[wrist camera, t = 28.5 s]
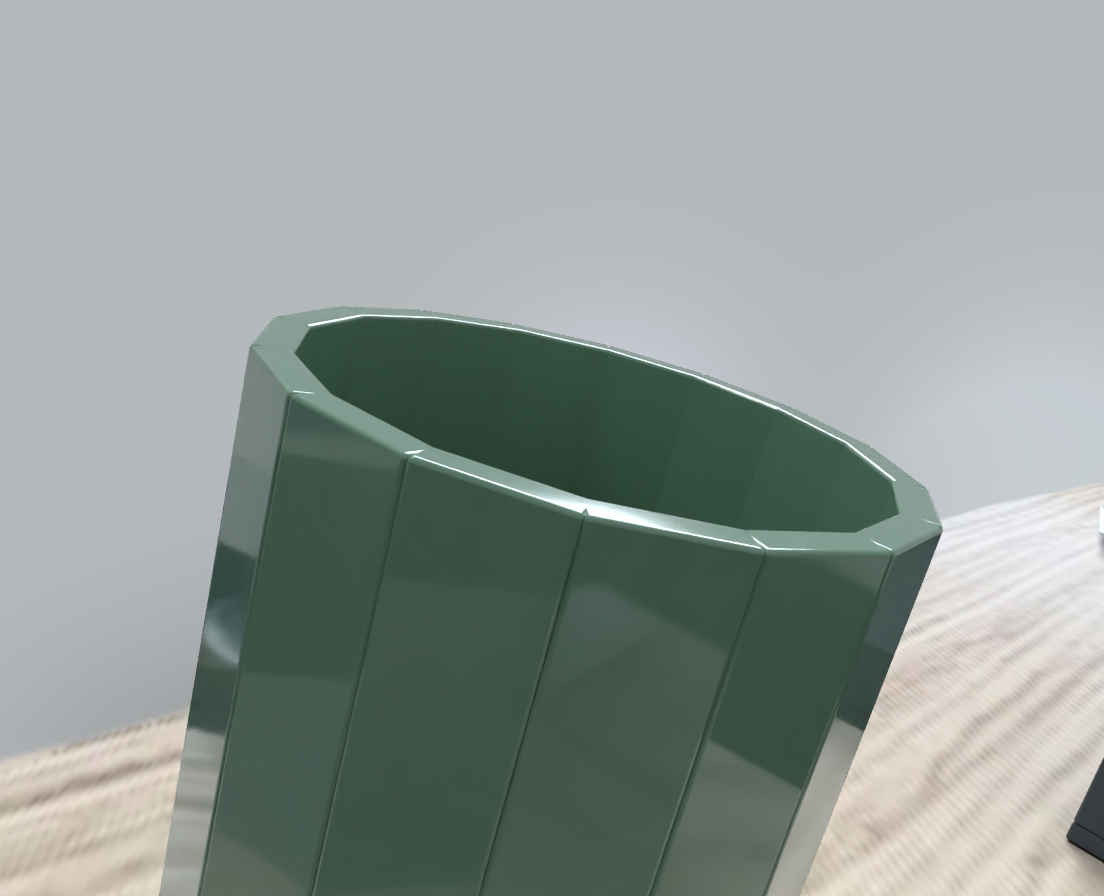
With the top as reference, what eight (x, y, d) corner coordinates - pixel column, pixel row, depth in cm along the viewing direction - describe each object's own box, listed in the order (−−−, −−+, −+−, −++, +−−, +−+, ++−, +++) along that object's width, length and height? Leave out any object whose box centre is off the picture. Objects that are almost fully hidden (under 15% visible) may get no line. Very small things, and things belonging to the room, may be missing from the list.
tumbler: (14, 1520, 9) (172, 435, 6) (185, 950, 16) (305, 275, 13) (689, 1524, 11) (1100, 615, 7) (593, 992, 17) (793, 387, 14)
